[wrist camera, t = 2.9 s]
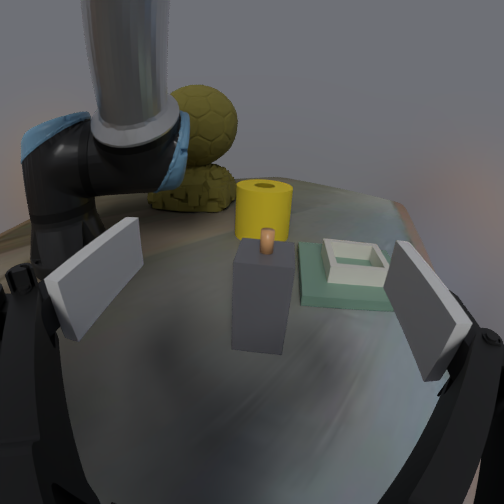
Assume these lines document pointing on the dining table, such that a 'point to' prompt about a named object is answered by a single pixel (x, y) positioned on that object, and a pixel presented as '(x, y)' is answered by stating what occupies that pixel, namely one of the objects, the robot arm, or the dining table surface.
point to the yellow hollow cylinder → (262, 208)
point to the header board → (343, 275)
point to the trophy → (203, 153)
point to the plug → (262, 293)
